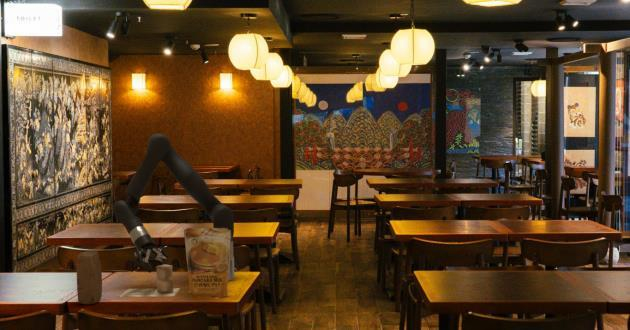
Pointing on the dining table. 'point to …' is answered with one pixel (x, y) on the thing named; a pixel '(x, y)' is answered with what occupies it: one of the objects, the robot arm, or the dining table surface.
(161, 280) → the tan tall block
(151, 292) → the birch board
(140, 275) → the dining table surface
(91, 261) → the block
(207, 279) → the pancake mix bag
